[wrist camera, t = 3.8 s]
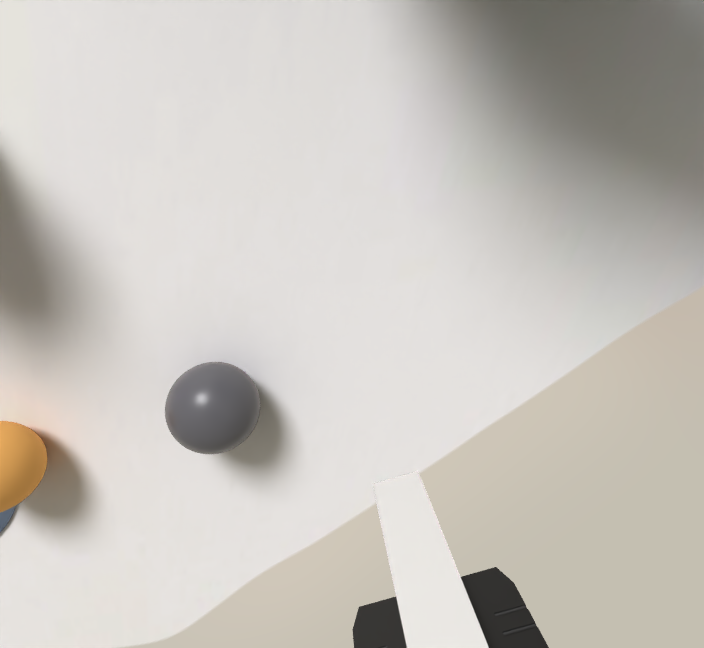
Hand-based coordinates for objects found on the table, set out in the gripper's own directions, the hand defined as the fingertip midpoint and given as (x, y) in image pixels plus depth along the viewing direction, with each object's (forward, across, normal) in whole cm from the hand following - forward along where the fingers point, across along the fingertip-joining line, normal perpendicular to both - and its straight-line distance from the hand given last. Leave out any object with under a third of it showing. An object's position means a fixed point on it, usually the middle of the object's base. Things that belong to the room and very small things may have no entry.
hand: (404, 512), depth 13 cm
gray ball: (+13, -9, 0) cm, 16 cm away
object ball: (+13, -23, 0) cm, 26 cm away
